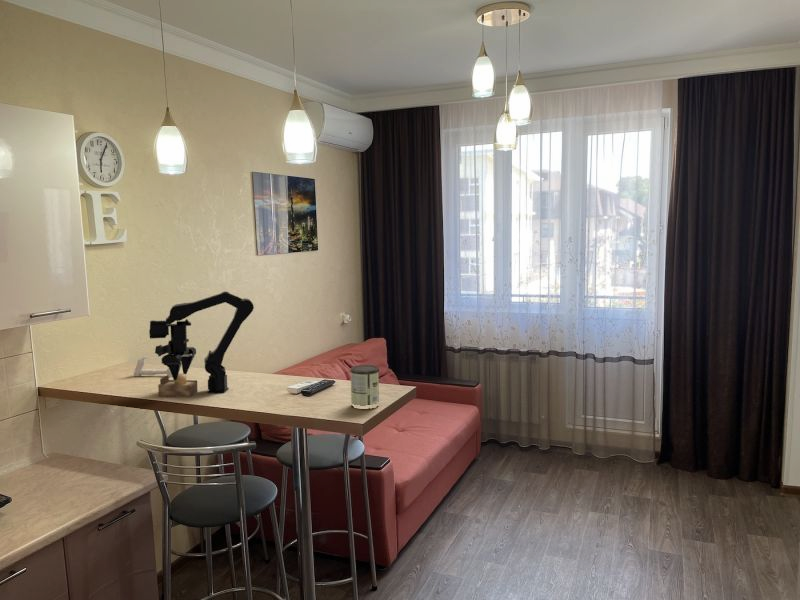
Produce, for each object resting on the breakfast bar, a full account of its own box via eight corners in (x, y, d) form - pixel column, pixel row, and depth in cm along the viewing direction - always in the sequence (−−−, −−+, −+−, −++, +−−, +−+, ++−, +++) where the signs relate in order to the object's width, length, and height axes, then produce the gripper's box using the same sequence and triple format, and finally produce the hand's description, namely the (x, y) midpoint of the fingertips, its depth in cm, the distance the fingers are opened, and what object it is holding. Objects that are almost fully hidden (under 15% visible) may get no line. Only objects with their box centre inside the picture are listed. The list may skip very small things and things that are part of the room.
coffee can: (355, 401, 226) (355, 364, 224) (382, 403, 223) (382, 365, 222) (347, 408, 216) (346, 370, 214) (374, 411, 213) (374, 372, 212)
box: (197, 391, 238) (197, 380, 237) (189, 396, 230) (189, 385, 229) (167, 390, 239) (167, 379, 238) (158, 396, 231) (158, 384, 230)
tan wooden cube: (189, 383, 235) (188, 374, 234) (180, 385, 231) (179, 376, 230) (181, 381, 237) (180, 373, 236) (172, 384, 233) (171, 375, 232)
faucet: (171, 388, 261) (177, 366, 260) (131, 374, 260) (138, 353, 259) (174, 385, 265) (180, 364, 264) (135, 372, 264) (142, 351, 263)
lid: (196, 383, 237) (195, 375, 236) (190, 387, 231) (189, 379, 230) (166, 382, 237) (166, 375, 237) (159, 386, 231) (159, 379, 231)
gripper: (168, 332, 241) (170, 371, 243) (146, 341, 223) (148, 382, 225) (196, 333, 241) (197, 371, 243) (176, 341, 222) (177, 383, 224)
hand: (180, 377), depth 233 cm, fingers open, 9 cm apart
